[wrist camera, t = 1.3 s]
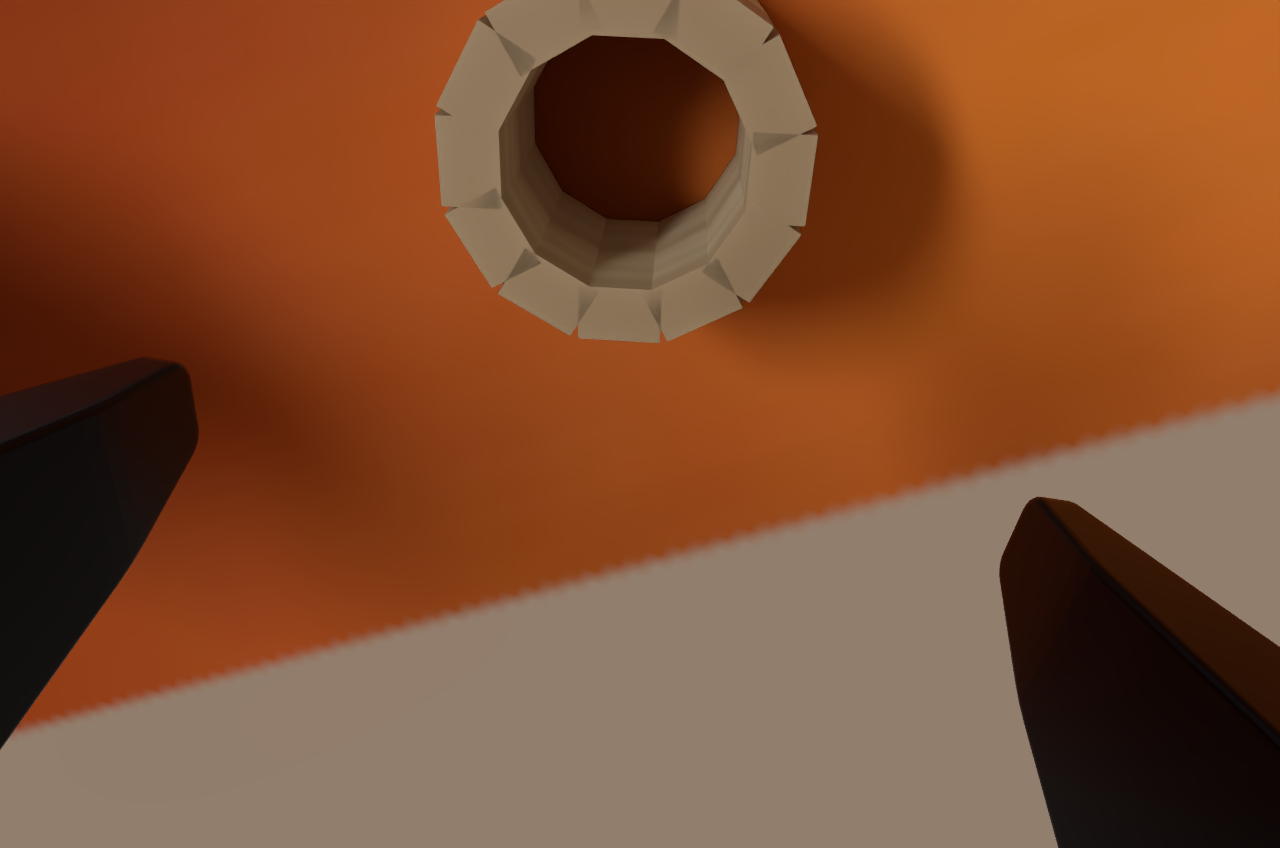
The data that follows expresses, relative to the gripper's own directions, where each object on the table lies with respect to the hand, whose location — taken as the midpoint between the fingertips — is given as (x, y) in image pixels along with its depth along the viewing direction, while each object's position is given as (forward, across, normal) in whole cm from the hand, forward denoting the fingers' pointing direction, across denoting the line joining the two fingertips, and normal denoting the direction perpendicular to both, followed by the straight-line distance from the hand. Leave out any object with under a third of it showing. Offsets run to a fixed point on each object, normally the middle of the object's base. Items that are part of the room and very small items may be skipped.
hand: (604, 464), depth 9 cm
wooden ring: (+12, +1, -1) cm, 12 cm away
